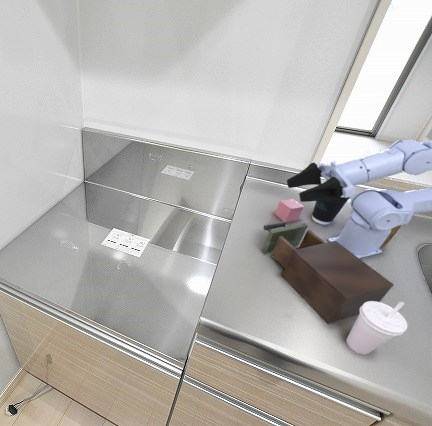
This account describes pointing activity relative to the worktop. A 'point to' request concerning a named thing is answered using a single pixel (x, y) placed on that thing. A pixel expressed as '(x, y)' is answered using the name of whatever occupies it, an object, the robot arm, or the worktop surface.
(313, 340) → the worktop surface
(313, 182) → the robot arm
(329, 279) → the cabinet
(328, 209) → the dixie cup
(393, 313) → the smoothie
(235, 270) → the worktop surface
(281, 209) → the block
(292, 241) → the drawer
